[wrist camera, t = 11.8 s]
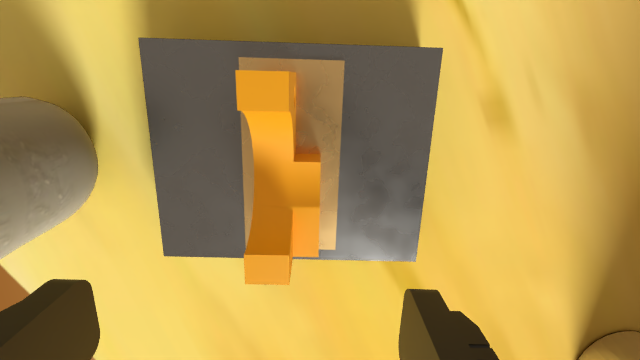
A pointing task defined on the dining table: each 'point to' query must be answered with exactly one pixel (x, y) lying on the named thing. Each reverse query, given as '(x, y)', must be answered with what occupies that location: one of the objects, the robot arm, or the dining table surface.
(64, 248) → the dining table surface
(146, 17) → the dining table surface
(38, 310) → the robot arm
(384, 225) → the steel riser
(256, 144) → the pipe clamp
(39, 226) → the grey bottle
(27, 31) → the dining table surface
